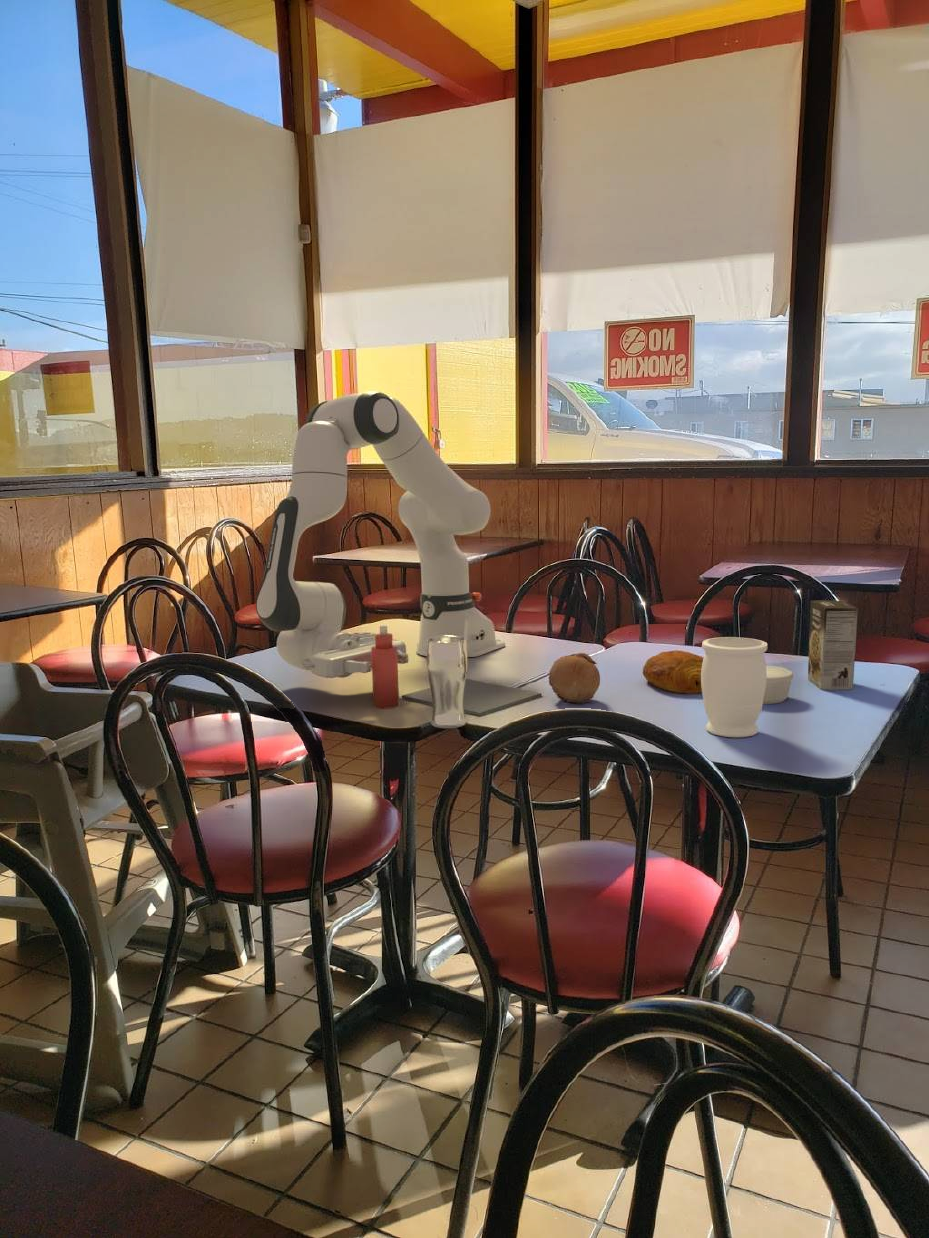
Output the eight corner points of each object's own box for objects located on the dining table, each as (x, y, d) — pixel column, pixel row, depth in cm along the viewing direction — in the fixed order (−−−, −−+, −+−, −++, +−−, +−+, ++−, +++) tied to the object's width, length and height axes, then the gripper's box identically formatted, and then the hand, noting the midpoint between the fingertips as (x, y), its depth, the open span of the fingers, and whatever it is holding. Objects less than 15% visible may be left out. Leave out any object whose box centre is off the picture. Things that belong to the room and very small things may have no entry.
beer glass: (464, 730, 161) (462, 643, 159) (424, 728, 163) (421, 642, 160) (472, 718, 168) (470, 635, 166) (433, 717, 170) (431, 634, 167)
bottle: (386, 700, 182) (384, 623, 180) (404, 704, 179) (401, 625, 176) (368, 705, 179) (365, 626, 176) (385, 709, 176) (382, 629, 173)
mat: (464, 681, 196) (464, 678, 196) (541, 696, 183) (541, 693, 183) (401, 698, 183) (401, 695, 183) (479, 715, 170) (479, 712, 170)
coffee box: (806, 679, 192) (809, 600, 189) (838, 678, 192) (842, 599, 189) (820, 690, 183) (823, 607, 180) (854, 689, 183) (858, 606, 180)
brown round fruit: (587, 712, 182) (606, 663, 183) (590, 712, 173) (610, 660, 173) (540, 693, 183) (559, 645, 184) (541, 692, 174) (561, 641, 174)
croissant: (664, 708, 181) (666, 669, 179) (632, 678, 196) (634, 642, 193) (733, 700, 184) (737, 661, 182) (697, 672, 199) (700, 636, 196)
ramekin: (716, 697, 180) (717, 670, 179) (753, 688, 186) (754, 661, 185) (766, 709, 171) (767, 680, 170) (804, 699, 177) (805, 671, 176)
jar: (701, 720, 164) (703, 635, 162) (764, 724, 161) (767, 637, 159) (698, 738, 154) (700, 647, 152) (765, 742, 151) (768, 650, 149)
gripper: (295, 647, 178) (343, 656, 169) (376, 630, 193) (425, 638, 184) (297, 679, 179) (345, 690, 170) (377, 661, 194) (426, 670, 185)
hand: (387, 663), depth 177 cm, fingers open, 8 cm apart
